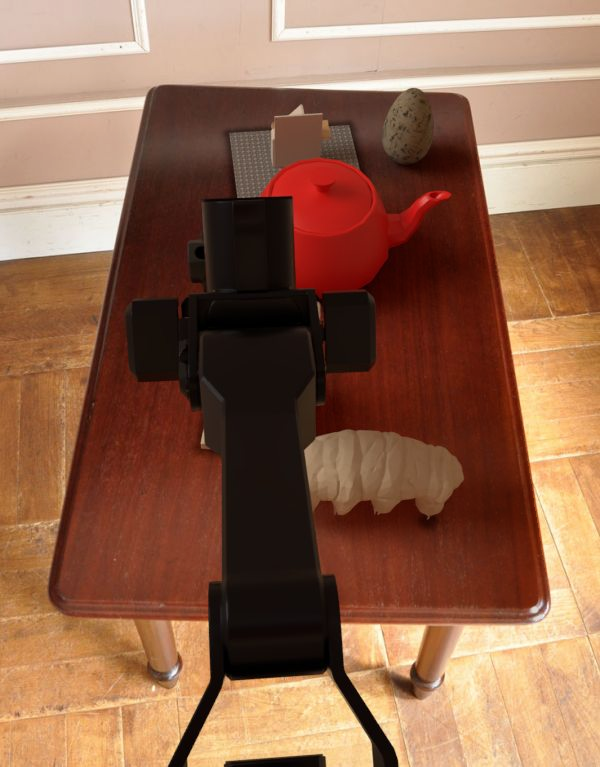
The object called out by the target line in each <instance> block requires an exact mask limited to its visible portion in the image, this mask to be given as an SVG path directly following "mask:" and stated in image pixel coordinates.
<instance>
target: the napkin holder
mask: <svg viewBox="0 0 600 767" xmlns="http://www.w3.org/2000/svg"><path fill="white" fill-rule="evenodd" d="M323 117H324V114H323V112H320V111H318V112H317V113H305V110H304V105H303V104H299V106H297V107H296V108H295V109H294V110H293V111H292V112H291V113H290V114H286V115H275V116H274V120H273V121H272V122H271V123H270V124H271V125H270V126H271V129H269V131H270V159H271V165H272V166H273V167H275V168H285V167H287V166H289V165H291V164H293V163H295V162H297V161H301V160H308V159H315V158H321V154H322V142H324V141H331V140H332V134H331V129H330V126H329V120H328V119H324V118H323Z"/></svg>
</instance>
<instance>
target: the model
mask: <svg viewBox="0 0 600 767" xmlns="http://www.w3.org/2000/svg"><path fill="white" fill-rule="evenodd" d="M304 453H305V460H306V467H307V474H308V481H309V488H310V495H311V503H312V510H313V514H314V512H315V510H316V508H317V507H318V505H319V503H320V502H321V501H322V502H326V501H327V502H329V501H331V502H332V506H333V515H335V516H336V515H337V516H345V515H346V514H348V513H349V512H351V511H352V509H353V508H354V507H355V506H356V505H357V504H358V503H360V502H362V501H363V502H364V501H371V505H372V507H373V511H374V512H373V513H374V515H376V513H377V515H378V516H379V515H380V514H388V513H390V512H391V511H393V509H394V508H395V507H396V506H397V505H398V504H399V503H400V502H402V501H406V500H413V499H414V501H415V506H416V507H417V510H418V511H419V512H420V513H421V514H423V515H426V516H427V518H426V520H429V519H430V517H431V518H432V516H435V515H437V514H440V513H441V512H442V511H443V508H444V507H445V503H446V501H448V499H449V498H450V497H451V496H452V494H453V492H454V490H456V489H457V488H459V487H460V485H461V483H463V482H464V480H465V476H464V472H463V467H462V464H461V463H460V461H459V460H458V458H457V456H456V455H453V454H451V452H450V451H449V450H448V449H447V448H446V447H444V446H441V445H436V446H435V445H433V444H426V443H424V442H423V441H421V440H418V439H415V438H412V437H409V436H401V435H400V434H399V433H397V432H394V431H389V432H387V431H383V432H381V431H379V430H369V429H367V430H366V429H365V430H364V429H359V430H353V429H343V430H340V431H335V432H330V433H325V434H322V435H318V436H316V439H315V440H314V441H313V442H312V443H311V444H310V445H309V446H308V447H307V448H306V449H305V450H304Z"/></svg>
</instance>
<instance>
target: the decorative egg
mask: <svg viewBox="0 0 600 767" xmlns="http://www.w3.org/2000/svg"><path fill="white" fill-rule="evenodd" d="M434 125H435V122H434V115H433V109H432V105H431V103H430V100H429V99H428V97H427V95H426V94H425V92H424V91H423V90H422V89H420V88H418V87H410V88H407V89H406V90H404V91H403V92H401V93H400V94H399V95H398V96H397V98H395V100H394V102H393V103H392V105H391V107H390V108H389V110H388V113H387V115H386V117H385V120H384V123H383V126H382V133H381V141H382V147H383V149H384V152H385V154H386V155H387V157H388V158H389V159H390V160H391V161H392V162H394V163H396V164H398V165H402V166H409V165H414V164H416V163H418V162H420V161H421V160H422V159H423V158H424V157H425V156H426V155H427V154H428V152H429V150H430V148H431V146H432V143H433V139H434V132H435V130H434V129H435V126H434Z"/></svg>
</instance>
